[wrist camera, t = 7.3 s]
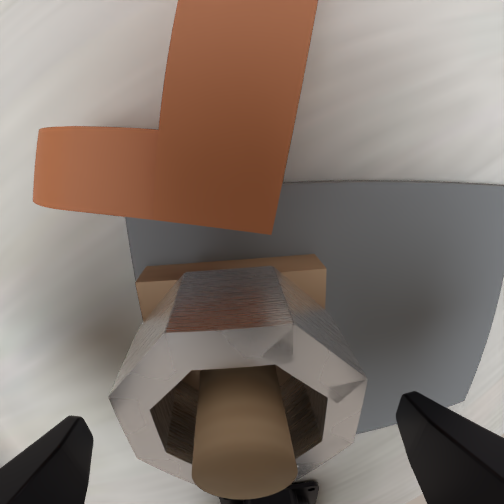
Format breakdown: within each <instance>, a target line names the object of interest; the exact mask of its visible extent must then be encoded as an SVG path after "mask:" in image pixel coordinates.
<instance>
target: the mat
mask: <svg viewBox="0 0 504 504" xmlns="http://www.w3.org/2000/svg"><path fill="white" fill-rule="evenodd" d="M125 218H126V225H127V232H128V238H129V245H130V251H131V257H132V263H133V268H134V274H135V279H136V281H137V279H138V278H139V276H140V275H141V273H142V272H143V270H144V269H145V267H146V266H158V265H172V264H186V263H200V262H214V261H227V260H241V259H254V258H268V257H281V256H294V255H307V254H315V255H316V256H317V257H318V259H319V260H320V261H321V262H322V264H323V265H324V266H325V267H326V299H325V310H326V311H327V312H329V313H330V315H331V317H332V318H333V320H334V322H335V323H336V325H337V327H338V329H339V330H340V332H341V334H342V335H343V337H344V339H345V340H346V342H347V344H348V346H349V347H350V349H351V351H352V353H353V354H354V356H355V358H356V359H357V361H358V363H359V365H360V366H361V368H362V370H363V372H364V373H365V375H366V377H367V379H368V380H367V386H366V391H365V395H364V400H363V405H362V409H361V414H360V418H359V422H358V426H357V430H356V434H359V433H363V432H367V431H371V430H375V429H379V428H383V427H387V426H391V425H394V424H397V421H396V412H397V408H398V405H399V402H400V399H401V396H402V395H403V394H404V393H408V392H412V391H417V392H419V393H421V394H422V395H424V396H426V397H428V398H430V399H431V400H433V401H435V402H437V403H439V404H440V405H442V406H444V407H446V408H447V407H449V406H452V405H455V404H457V403H460V402H462V401H464V400H465V398H466V396H467V393H468V391H469V388H470V386H471V384H472V381H473V378H474V376H475V373H476V371H477V368H478V365H479V362H480V360H481V357H482V354H483V351H484V348H485V345H486V342H487V339H488V335H489V332H490V329H491V325H492V322H493V318H494V315H495V311H496V307H497V303H498V299H499V295H500V290H501V286H502V281H503V277H504V185H493V184H478V183H459V182H434V181H315V182H288V183H282V187H281V192H280V197H279V202H278V206H277V211H276V216H275V221H274V225H273V230H272V235H268V234H260V233H253V232H245V231H238V230H230V229H222V228H214V227H207V226H199V225H191V224H182V223H174V222H166V221H158V220H149V219H141V218H132V217H125Z"/></svg>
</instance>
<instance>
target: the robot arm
mask: <svg viewBox="0 0 504 504" xmlns="http://www.w3.org/2000/svg"><path fill="white" fill-rule="evenodd" d="M396 421H397V424H398V427H399V430H400V434H401V437H402V440H403V443H404V446H405V450H406V453H407V456H408V459H409V462H410V464H411V467H412V469H413V471H414V474H415V476H416V478H417V481H418V483H419V485H420V488H421V490H422V492H423V495H424V497H425V499H426V502H427V504H504V438H503V437H501V436H499V435H497V434H495V433H493V432H491V431H489V430H487V429H485V428H483V427H481V426H480V425H478V424H476V423H474V422H472V421H470V420H468V419H466V418H464V417H463V416H461V415H459V414H457V413H455V412H453V411H451V410H450V409H448V408H446V407H444V406H442V405H440V404H439V403H437V402H435V401H433V400H431V399H430V398H428V397H426V396H424V395H422V394H421V393H419V392H417V391H412V392H408V393H404V394H403V395H402V396H401V399H400V402H399V405H398V408H397V412H396ZM92 449H93V436H92V433H91V432H90V430H89V428H88V426H87V424H86V422H85V420H84V419H83V418H82V417H79V416H68V417H66V418H65V419H64V420H63V421H61V422H60V423H59V424H57V425H56V426H55V427H54V428H52V429H51V430H50V431H48V432H47V433H46V434H45V435H43V436H42V437H41V438H39V439H38V440H37V441H36V442H34V443H33V444H32V445H30V446H29V447H28V448H26V449H25V450H24V451H22V452H21V453H20V454H19V455H17V456H16V457H15V458H13V459H12V460H11V461H9V462H8V463H7V464H5V465H4V466H3V467H2V468H0V504H84V502H85V497H86V492H87V487H88V482H89V474H90V465H91V456H92ZM318 490H319V487H318V483H317V482H314V481H313V482H306V483H299V484H292V485H289V486H288V487H286V488H285V489H283V490H281V491H279V492H277V493H275V494H272V495H269V496H266V497H261V498H255V499H228V498H222V497H219V499H220V502H221V504H315V503H316V499H317V494H318Z"/></svg>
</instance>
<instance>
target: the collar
mask: <svg viewBox="0 0 504 504" xmlns="http://www.w3.org/2000/svg"><path fill="white" fill-rule="evenodd" d="M274 364H275V365H277V366H278V367H280V368H281V369H283V370H284V371H286V372H287V373H289V374H291V375H292V377H291V378H290V379H288V380H287V381H286V382H285V383H284V384H282V385H281V386H280V390H281V395H282V400H283V404H284V409H285V414H286V418H287V423H288V427H289V432H290V437H291V441H292V446H293V450H294V455H295V460H296V464H297V469H298V473H297V476H296V478H295V480H297V479H299V478H300V477H302V476H304V475H305V474H307V473H309V472H310V471H312V470H314V469H315V468H317V467H318V466H320V465H322V464H323V463H325V462H326V461H328V460H329V459H331V458H332V457H334V456H335V455H337V454H338V453H340V452H341V451H343V450H344V449H345V448H347V447H348V446H350V445H351V444H353V442H354V438H355V434H356V430H357V426H358V422H359V418H360V414H361V409H362V405H363V400H364V395H365V391H366V386H367V380H368V379H367V377H366V375H365V373H364V372H363V370H362V368H361V366H360V365H359V363H358V361H357V359H356V358H355V356H354V354H353V353H352V351H351V349H350V347H349V346H348V344H347V342H346V340H345V339H344V337H343V335H342V334H341V332H340V330H339V329H338V327H337V325H336V323H335V322H334V320H333V318H332V317H331V315H330V313H329V312H327V311H326V310H325V309H324V308H323V307H321V306H320V305H319V304H318V303H317V302H315V301H314V300H313V299H312V298H311V297H310V296H308V295H307V294H306V293H305V292H304V291H302V290H301V289H300V288H299V287H298V286H296V285H295V284H294V283H293V282H292V281H290V280H289V279H288V278H287V277H286V276H284V275H283V274H282V273H281V272H280V271H278V270H277V269H276V268H275V267H274V266H273V267H272V266H260V267H247V268H234V269H220V270H207V271H193V272H186V273H184V274H183V275H182V276H181V277H180V279H179V280H178V281H177V282H176V283H175V284H174V286H173V287H172V288H171V289H170V290H169V292H168V293H167V294H166V295H165V296H164V298H163V299H162V300H161V301H160V302H159V304H158V305H157V306H156V307H155V308H154V310H153V311H152V312H151V313H150V315H149V316H148V317H147V318H146V319H145V321H144V322H143V323H142V324H141V326H140V327H139V329H138V331H137V333H136V335H135V337H134V339H133V342H132V344H131V346H130V348H129V350H128V353H127V355H126V357H125V359H124V362H123V364H122V366H121V369H120V371H119V373H118V376H117V378H116V380H115V383H114V385H113V387H112V390H111V392H110V394H109V400H110V402H111V404H112V407H113V409H114V411H115V414H116V416H117V418H118V420H119V422H120V425H121V427H122V429H123V431H124V433H125V435H126V437H127V439H128V441H129V443H130V445H131V447H132V449H133V451H134V453H135V455H136V457H137V458H138V459H140V460H142V461H144V462H146V463H148V464H150V465H152V466H154V467H156V468H158V469H160V470H162V471H165V472H167V473H169V474H171V475H174V476H176V477H178V478H181V479H183V480H185V481H188V482H190V483H193V484H195V483H194V481H193V479H192V462H193V449H194V436H195V425H196V414H197V403H198V393H199V391H198V390H196V389H195V388H193V387H191V386H190V385H188V384H186V383H185V382H183V381H182V379H183V378H184V377H185V376H186V375H187V374H188V373H189V372H190V371H191V370H208V369H226V368H240V367H253V366H264V365H274ZM295 480H294V481H295ZM195 485H196V484H195Z"/></svg>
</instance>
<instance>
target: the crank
mask: <svg viewBox="0 0 504 504" xmlns="http://www.w3.org/2000/svg"><path fill="white" fill-rule="evenodd" d="M317 2H318V0H178V4H177V9H176V14H175V19H174V24H173V29H172V35H171V41H170V47H169V53H168V59H167V66H166V72H165V79H164V87H163V95H162V103H161V111H160V121H159V130H156V129H141V128H122V127H89V126H66V127H49V128H42V129H39V134H38V141H37V150H36V160H35V172H34V188H33V202H34V203H36V204H38V205H40V206H44V207H48V208H53V209H60V210H68V211H78V212H87V213H96V214H105V215H114V216H123V217H132V218H141V219H149V220H158V221H166V222H174V223H182V224H191V225H199V226H207V227H214V228H222V229H230V230H238V231H245V232H253V233H260V234H268V235H272V230H273V225H274V221H275V216H276V211H277V206H278V202H279V197H280V192H281V187H282V182H283V177H284V173H285V168H286V163H287V158H288V153H289V148H290V143H291V138H292V133H293V128H294V123H295V118H296V113H297V108H298V103H299V98H300V93H301V88H302V82H303V77H304V72H305V67H306V62H307V56H308V51H309V46H310V40H311V35H312V30H313V24H314V19H315V13H316V8H317Z"/></svg>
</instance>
